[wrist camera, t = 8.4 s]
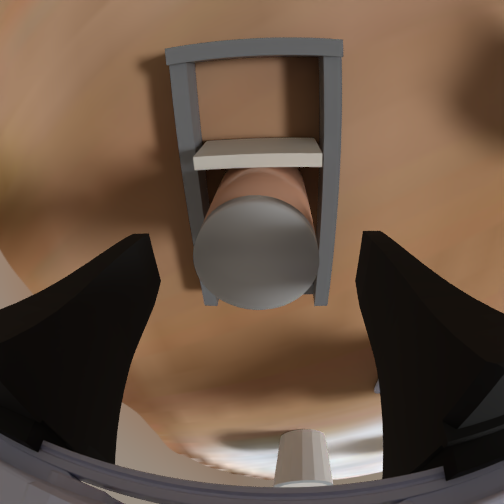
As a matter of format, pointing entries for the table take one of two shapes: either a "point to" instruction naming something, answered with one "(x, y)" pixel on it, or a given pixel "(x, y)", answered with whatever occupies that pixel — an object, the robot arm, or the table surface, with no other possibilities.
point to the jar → (258, 239)
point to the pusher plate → (258, 153)
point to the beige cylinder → (303, 460)
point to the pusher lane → (329, 134)
